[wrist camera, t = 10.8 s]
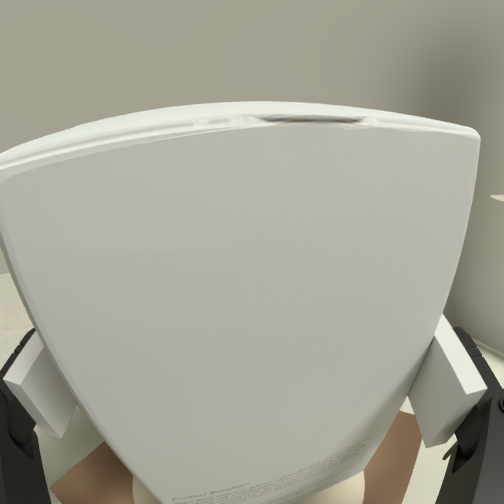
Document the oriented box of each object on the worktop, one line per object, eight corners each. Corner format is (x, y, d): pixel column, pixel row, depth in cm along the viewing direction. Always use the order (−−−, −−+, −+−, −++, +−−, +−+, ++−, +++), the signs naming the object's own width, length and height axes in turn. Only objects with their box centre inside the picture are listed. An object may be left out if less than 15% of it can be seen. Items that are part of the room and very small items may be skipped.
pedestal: (79, 509, 12) (46, 486, 10) (217, 376, 25) (212, 338, 23) (300, 643, 5) (312, 656, 3) (405, 447, 17) (428, 415, 15)
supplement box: (292, 360, 19) (304, 101, 12) (366, 472, 12) (495, 131, 5) (150, 394, 17) (83, 120, 10) (183, 534, 9) (-38, 156, 2)
